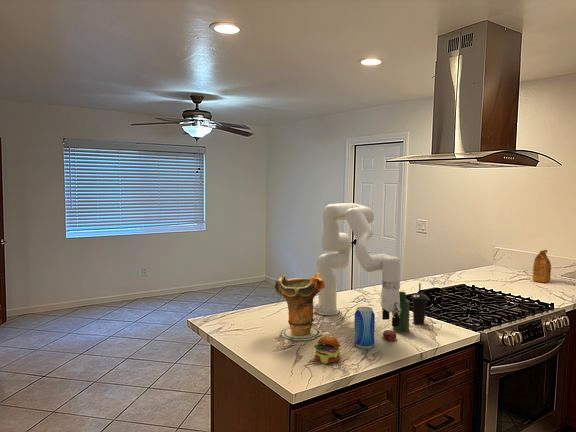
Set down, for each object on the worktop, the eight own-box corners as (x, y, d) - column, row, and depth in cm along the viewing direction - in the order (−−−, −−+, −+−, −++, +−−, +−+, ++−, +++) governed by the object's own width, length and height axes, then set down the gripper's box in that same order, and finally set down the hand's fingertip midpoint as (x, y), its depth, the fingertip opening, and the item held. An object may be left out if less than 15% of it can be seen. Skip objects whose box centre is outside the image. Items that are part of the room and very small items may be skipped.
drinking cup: (418, 326, 198) (419, 286, 197) (407, 322, 205) (408, 282, 203) (430, 324, 202) (431, 284, 200) (418, 319, 208) (419, 280, 207)
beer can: (352, 342, 179) (352, 306, 178) (371, 341, 180) (371, 305, 179) (356, 349, 171) (357, 312, 170) (376, 349, 172) (377, 311, 170)
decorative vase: (275, 325, 200) (275, 268, 198) (323, 326, 199) (323, 268, 197) (272, 342, 179) (272, 278, 177) (325, 342, 179) (326, 279, 176)
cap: (386, 341, 180) (386, 334, 180) (381, 337, 185) (381, 330, 185) (398, 340, 181) (398, 334, 181) (392, 336, 186) (392, 329, 186)
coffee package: (553, 281, 289) (554, 250, 287) (545, 284, 281) (547, 252, 280) (537, 278, 297) (539, 248, 295) (530, 281, 289) (531, 250, 287)
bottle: (397, 333, 190) (398, 294, 188) (390, 328, 197) (391, 291, 195) (411, 332, 191) (412, 294, 190) (404, 327, 198) (405, 290, 197)
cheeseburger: (310, 362, 159) (312, 335, 161) (318, 358, 169) (319, 332, 170) (336, 365, 155) (337, 338, 157) (342, 361, 165) (343, 335, 167)
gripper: (375, 280, 189) (374, 317, 190) (391, 289, 172) (391, 330, 173) (390, 279, 190) (389, 316, 191) (408, 288, 173) (407, 328, 175)
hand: (390, 322), depth 182 cm, fingers open, 9 cm apart
